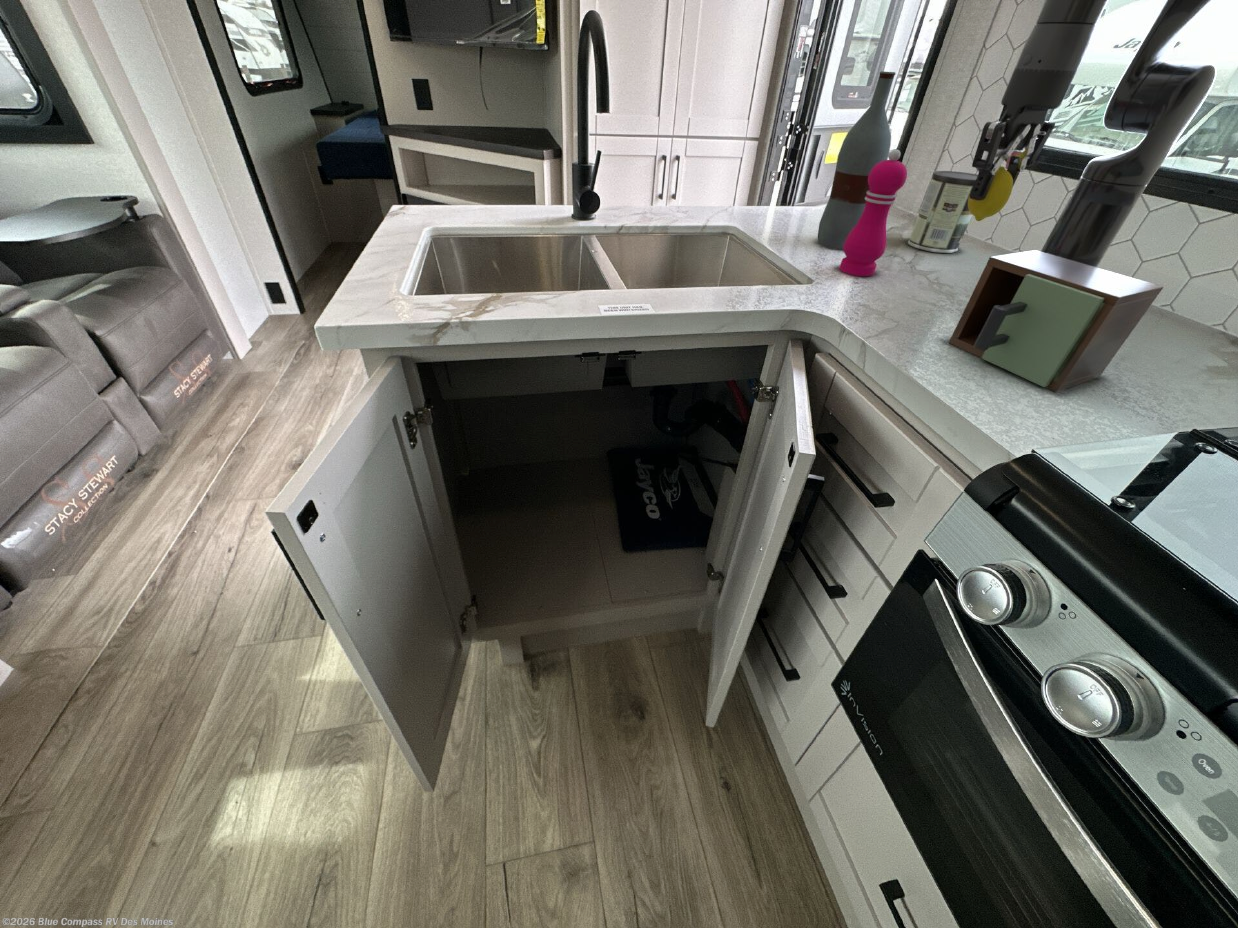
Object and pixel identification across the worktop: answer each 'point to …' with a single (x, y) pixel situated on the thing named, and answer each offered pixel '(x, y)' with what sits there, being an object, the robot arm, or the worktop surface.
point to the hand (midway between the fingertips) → (988, 197)
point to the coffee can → (944, 212)
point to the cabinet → (1120, 291)
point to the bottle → (856, 168)
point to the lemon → (993, 196)
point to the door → (1037, 328)
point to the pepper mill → (874, 218)
